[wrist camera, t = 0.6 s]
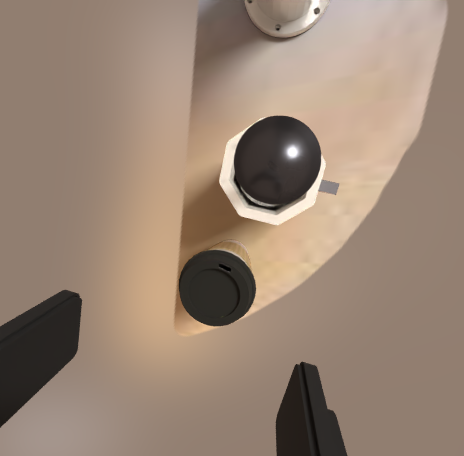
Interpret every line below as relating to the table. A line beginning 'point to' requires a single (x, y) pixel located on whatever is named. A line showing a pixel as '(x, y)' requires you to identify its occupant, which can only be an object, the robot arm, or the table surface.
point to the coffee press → (259, 211)
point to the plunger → (277, 160)
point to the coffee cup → (218, 284)
